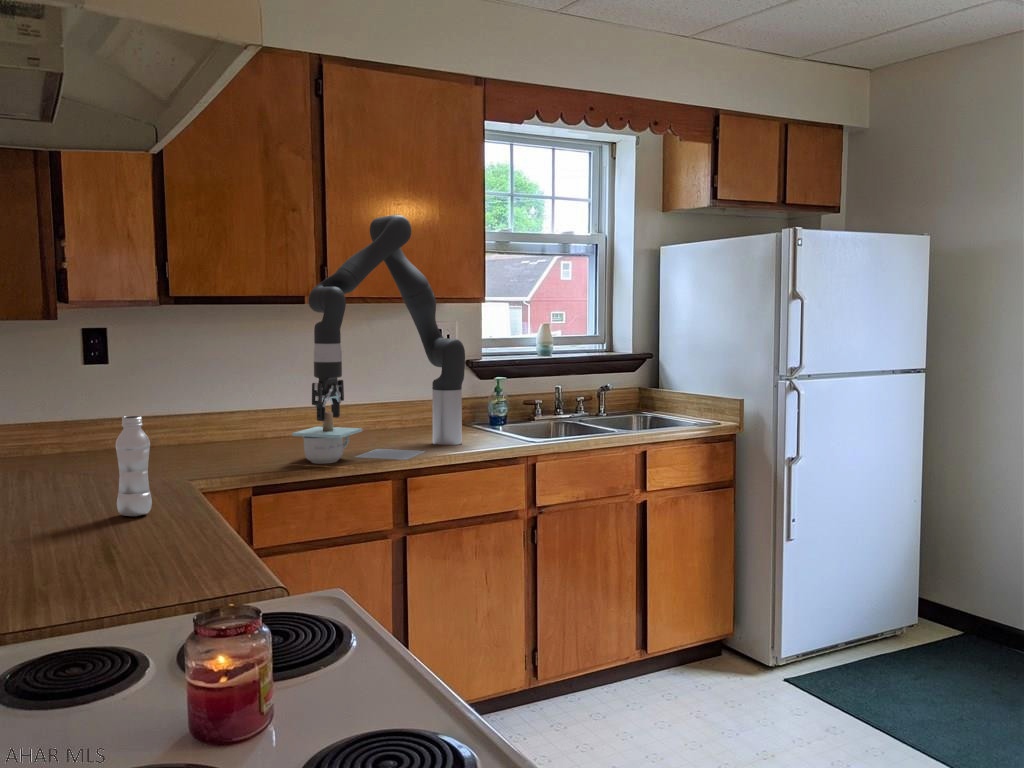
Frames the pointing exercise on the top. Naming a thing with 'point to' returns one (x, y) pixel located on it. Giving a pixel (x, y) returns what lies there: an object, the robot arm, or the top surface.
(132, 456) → the plastic bottle
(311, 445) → the teacup
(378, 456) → the mat
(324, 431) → the lid
